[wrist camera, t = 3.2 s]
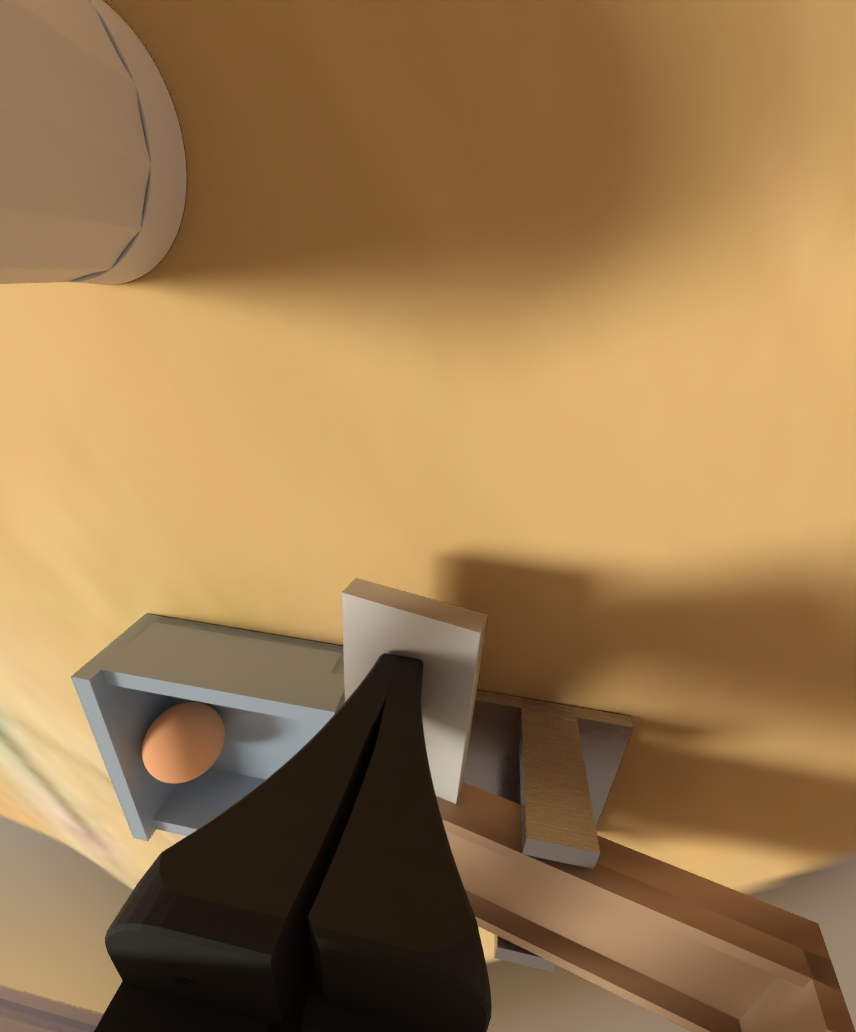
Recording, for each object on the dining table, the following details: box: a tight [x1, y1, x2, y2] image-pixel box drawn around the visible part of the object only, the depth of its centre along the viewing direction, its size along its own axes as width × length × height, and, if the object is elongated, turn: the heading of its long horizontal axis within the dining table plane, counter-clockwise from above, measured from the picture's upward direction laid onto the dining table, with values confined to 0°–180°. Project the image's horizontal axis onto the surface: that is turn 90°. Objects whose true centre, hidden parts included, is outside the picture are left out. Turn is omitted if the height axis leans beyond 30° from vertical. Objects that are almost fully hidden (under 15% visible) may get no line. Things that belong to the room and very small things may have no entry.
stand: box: [463, 690, 634, 972], centre depth 16 cm, size 6×7×5 cm
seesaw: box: [342, 578, 855, 1032], centre depth 13 cm, size 14×12×2 cm
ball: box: [142, 702, 225, 783], centre depth 18 cm, size 3×3×3 cm
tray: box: [71, 614, 345, 841], centre depth 18 cm, size 9×9×4 cm
